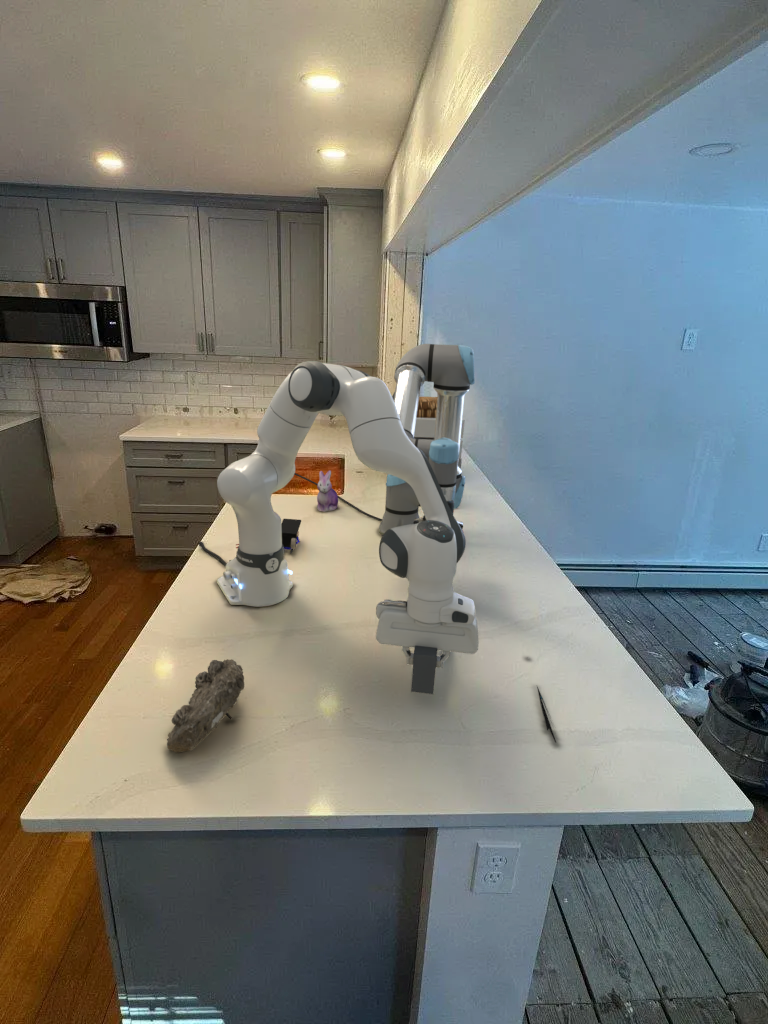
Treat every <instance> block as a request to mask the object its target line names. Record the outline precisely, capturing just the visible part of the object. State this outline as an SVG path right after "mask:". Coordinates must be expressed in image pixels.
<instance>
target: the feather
mask: <svg viewBox="0 0 768 1024" xmlns="http://www.w3.org/2000/svg"><path fill="white" fill-rule="evenodd" d="M527 659H529V657H527ZM536 688H537V692H538V697H539V703H540V706H541V711H542V715H543V719H544V722H545V727H546V731H549V732H550V734H551V737H552V738H553V740H554V742H555V743H557V740H556V738H555V735H554V732H553V729H555V728H556V727H555V725H553V726H551V724H553V720H552V718H551V714H550V713H549V711H548V708H547V705H546V703H545V701H544V698H543V696H542V694H541V691H540V689H539V687H538V686H536ZM550 722H551V723H550ZM552 727H553V729H552Z"/></svg>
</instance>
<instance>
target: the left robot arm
mask: <svg viewBox="0 0 768 1024" xmlns="http://www.w3.org/2000/svg"><path fill="white" fill-rule="evenodd" d="M392 396H393V394H392V393H391V392H390V389H389V388H388V386H387V384H386V383H385V381H383V379H382V378H379V377H377V376H371V375H370V374H369V373H367V372H365V371H363V370H360V369H355V368H353V367H349V366H346V365H343V364H334V363H327V362H326V363H325V362H321V361H318V360H307V361H302V362H299V363H298V364H297V365H296V366H295V367H294V368H293V370H291V372H289V373H288V375H287V376H286V377H285V378H284V380H283V381H282V382H281V384H280V385H279V387H278V388H277V390H276V391H275V393H274V395H272V398H271V400H270V402H269V404H268V406H267V408H266V410H265V412H264V414H263V416H262V418H261V420H260V422H259V424H258V426H257V429H256V433H257V437H258V443H257V446H256V448H255V450H254V451H253V452H252V453H251V454H250V455H248V456H245V457H243V458H240V459H238V460H236V461H235V460H234V461H233V462H232V463H230V464H229V465H228V466H227V467H226V468H224V469H223V470H222V471H221V472H220V474H218V477H217V481H216V487H217V491H218V494H219V495H220V497H221V498H222V500H223V501H224V502H225V503H226V504H228V505H230V506H231V508H232V510H233V512H234V514H235V518H236V522H237V523H236V524H237V533H238V543H236V544H235V546H236V547H235V549H236V554H235V555H236V556H234V557H233V558H232V559H229V560H228V562H226V561H225V560H224V559H223V558H222V557H221V556H219V555H218V554H217V553H215V552H213V551H211V550H209V549H208V548H206V546H205V544H204V542H203V541H198V543H197V544H198V546H200V547H201V549H202V550H203V551H204V552H205V553H207V554H208V555H210V556H213V557H214V558H216V559H217V560H218V561H220V563H221V564H222V565H223V566H224V569H225V570H224V571H223V573H222V574H223V575H221V576H219V577H218V578H217V581H216V583H217V585H218V587H219V588H220V590H221V592H222V593H223V595H224V596H225V598H226V600H227V601H228V603H229V605H232V606H248V607H268V606H269V607H270V606H273V605H276V604H279V603H282V602H283V601H284V600H286V599H287V598H288V597H289V596H290V595H289V594H290V590H291V589H292V588H293V587H294V583H293V581H291V580H290V576H289V574H290V575H293V571H292V570H290V569H289V566H288V560H287V559H285V549H284V547H283V544H282V517H281V516H280V515H279V514H278V513H277V512H276V511H274V509H273V505H272V499H271V498H272V494H275V493H276V492H278V491H280V490H282V489H283V488H285V487H286V486H287V485H288V484H289V483H290V481H291V480H292V479H293V478H294V476H295V475H294V474H295V473H296V463H295V462H296V460H297V456H298V453H299V450H300V448H301V446H302V444H303V443H304V441H305V439H306V437H307V435H308V434H309V432H310V430H311V428H312V426H313V424H314V423H315V420H316V419H317V416H318V415H319V414H321V415H326V416H332V417H334V416H338V417H340V416H341V417H342V416H343V417H344V418H345V421H346V424H347V428H348V434H349V437H350V441H351V445H352V448H353V451H354V453H355V455H356V457H357V459H358V461H360V463H362V465H364V466H365V467H367V468H369V469H371V470H372V471H375V472H378V473H381V474H386V475H388V474H390V475H393V476H396V477H398V478H400V479H402V480H404V481H406V482H407V483H408V484H409V485H410V486H411V487H412V488H413V490H414V492H415V494H416V497H417V499H418V501H419V504H420V506H421V507H420V508H421V511H422V513H423V516H424V515H425V517H426V520H425V521H422V522H420V523H417V524H412V525H411V524H410V525H404V526H399V527H394V528H391V529H388V530H387V531H386V532H385V533H384V534H383V535H381V537H380V541H379V546H378V556H379V560H380V563H381V565H382V567H383V568H384V569H386V570H387V571H388V572H390V573H391V574H393V575H395V576H397V577H399V578H400V579H406V580H407V581H408V587H407V598H406V600H392V599H384V600H382V601H380V602H378V603H377V604H376V606H375V616H376V617H377V619H378V623H377V628H376V632H375V633H376V634H375V640H376V641H377V642H378V644H380V645H387V646H395V647H401V652H402V653H403V654H404V656H405V658H406V665H408V666H409V665H411V666H413V656H414V652H411V650H410V648H413V649H414V648H415V646H424V647H433V648H437V651H442V653H441V655H437V661H436V669H437V668H438V669H443V668H444V662H445V661H446V660H447V659H448V658H449V656H450V654H451V653H460V654H470V655H473V654H475V653H477V652H478V651H479V639H480V638H479V626H478V618H477V616H476V606H475V602H474V600H473V599H472V598H470V597H468V596H464V595H462V594H459V593H457V592H456V591H455V588H454V578H455V576H456V573H457V564H458V563H459V561H460V560H461V559H462V557H463V555H464V553H465V550H466V546H467V540H466V535H465V532H464V531H463V529H462V528H461V527H460V525H459V524H458V522H459V521H458V520H457V519H456V517H455V515H454V513H453V514H452V512H451V510H450V508H449V506H448V503H447V501H446V499H445V496H444V494H443V492H442V490H441V487H440V485H439V483H438V481H437V478H436V476H435V474H434V472H433V469H432V467H431V465H430V463H429V461H428V459H427V457H426V456H425V454H424V453H423V451H422V450H420V449H419V448H417V447H416V446H415V445H414V444H413V443H412V442H411V441H410V439H409V438H408V436H407V435H406V433H405V431H404V429H403V426H402V423H401V420H400V417H399V413H398V410H397V408H396V405H395V402H394V400H393V398H392ZM457 521H458V522H457Z"/></svg>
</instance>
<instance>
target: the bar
mask: <svg viewBox="0 0 768 1024" xmlns="http://www.w3.org/2000/svg"><path fill="white" fill-rule="evenodd" d="M413 653H414V656H413V665H412V672H411V683H410V684H411V687H410V688H411V689H410V693H416V694H417V693H418V694H426V695H435V694H434V693H435V683H436V682H435V681H436V673H437V672H436V670H437V667H436V661H437V656H438V650H437V648H433V647H424V646H415V648H414V647H413Z"/></svg>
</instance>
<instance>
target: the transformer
mask: <svg viewBox="0 0 768 1024" xmlns="http://www.w3.org/2000/svg"><path fill="white" fill-rule="evenodd" d="M394 394H395V391H394V392H393V394H392V398H393V400H394ZM436 409H437V396H419V403H418V411H417V418H416V425H415V433H414V439H428V440H434V436H435V423H436ZM464 429H465V419H464V418H462V426H461V437H460V448H459V459H458V467H459V468H460V469H461V470H462V461H463V460H462V453H463V442H464V441H463V440H462V439H463V438H464V431H465V430H464Z"/></svg>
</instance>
